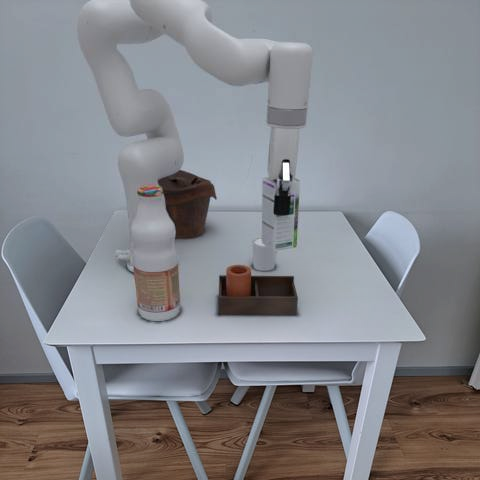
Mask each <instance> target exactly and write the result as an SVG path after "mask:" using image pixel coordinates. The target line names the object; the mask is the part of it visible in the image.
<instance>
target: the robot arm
mask: <svg viewBox="0 0 480 480" xmlns="http://www.w3.org/2000/svg"><path fill="white" fill-rule="evenodd" d="M212 22H213V15H212V11H211V8H210V6H209V4H208V3H206V2H205V1H204V0H89V1H87V2H86V3H85V4H83V6H82V7H81V9H80V10H79V14H78V16H77V23H76V33H77V34H76V35H77V39H78V44H79V46H80V50H81V52H82V55H83V57H84V58H85V61H86V63H87V65H88V67H89V68H90V71H91V74H92V75H93V78H94V80H95V84H96V86H97V90H98V93H99V95H100V98H101V102H102V104H103V107H104V110H105V113H106V115H107V119H108V121H109V124H110V126H111V128H112V130H113V131H114V132H115V134H117V136H120V137H123V138H124V137H125V138H129V137H135V136H141V135H143V134H145V136H146V138H145V139H141V140H138V141H134V142H131V143H129V144H126V145H125V146H124V147H123V148H122V149H121V151H120V152H119V154H118V156H117V166H118V171H119V175H120V178H121V181H122V186H123V190H124V195H125V203H126V210H127V211H126V212H127V220H128V229H129V240H130V248H127V249H115V251H114V252H115V254H114V256H115V258H118V260H119V261H126V267H127V269H128V271H130V272H131V273H133V274H134V267H133V249H134V242H133V240H132V237H131V225H132V223H133V221H134V219H135V217H136V213H137V209H138V205H139V201H140V198H139V197H138V194H137V189H138V187H140V186H143V185H158V186H159V184H158V180H159V179H161V178H164V177H166V176H169V175H172V174H174V173H176V172H178V171H179V170H182V167H183V165H184V161H185V155H184V153H185V152H184V148H183V145H182V141H181V137H180V135H179V131H178V127H177V124H176V121H175V118H174V115H173V111H172V108H171V106H170V104H169V101H167V99H166V97H165V96H164V95H163V94H162V93H161V92H159V91H158V90H155V89H153V88H142V89H139V87H138V84H137V81H136V79H135V76H134V75H135V74H134V72H133V70H132V68H131V65H130V64H129V61H127V59H126V57H125V56H124V55H123V54H122V53H121V52H120V51H119V50H118V48H117V46H118V45H140V44H141V45H142V44H147V43H150V42H152V41H155V40H157V39H159V38H160V37H162V36H164V35H165V36H167V37H168V38H170V39H172V40H173V41H175V42H176V43H178V44H180V45H181V46H183V47H184V48H185V50H186V52H187V54H188V56H189V57H190V59H191V60H192V62H193V63H194V64H195V65H196V66H197V67H198V68H200V69H201V70H203V71H204V72H205V73H208V74H209V75H210V76H212V77H214V78H215V79H217V80H218V81H220V82H222V83H224V84H226V85H229V86H233V87H243V86H244V87H245V86H250V85H259V84H264V83H268V87H267V88H268V89H267V108H266V123H265V124H266V126H268V127H270V133H269V142H268V143H269V144H268V157H267V167H266V170H267V175H268V176H267V177H269V179H270V180H271V181H273V180H276V194H275V196H274V210H273V213H274V215H289V213H290V201H291V195H290V194H291V182H292V181H293V180H294V179H295V178H296V173H297V172H296V171H297V163H298V153H299V143H300V142H299V141H300V129H304V128H306V127H307V119H308V108H309V98H310V97H309V96H310V88H311V87H310V86H311V77H312V76H311V75H312V65H313V55H314V53H313V48H312V46H311V45H310V44H308V43H306V42H296V41H277V40H272V39H268V38H259V37H258V38H251V37H250V38H249V37H248V38H236V37H235V36H232V35H231V34H229V33H227V32H225V31H224V30H222V29H220V28H219V27H217V26H216V25H214V24H213V23H212ZM279 177H282V179H279ZM280 183H282V184H281V185H280ZM279 185H280V186H279ZM162 201H163V203H164V206H165V208H166V204H165V197H164V194H163V196H162Z"/></svg>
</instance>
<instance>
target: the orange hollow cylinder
mask: <svg viewBox="0 0 480 480" xmlns="http://www.w3.org/2000/svg"><path fill="white" fill-rule="evenodd" d="M225 275H226V296H250V292H251V276H252V269H251V268H250V267H249V266H247V265H244V264H232V265H230V266H227V268H226V270H225Z"/></svg>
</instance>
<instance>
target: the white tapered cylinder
mask: <svg viewBox="0 0 480 480" xmlns="http://www.w3.org/2000/svg"><path fill="white" fill-rule="evenodd" d="M251 246H252V247H251V249H252V262H253V263H252V265H253V269H255V270H257V271H261V272H269V271H273V270H274V269H275V267H276V260H277V254H278V251H275V252H273V251H272V250H271V249H269V248H268V247H266V246H265V245H264V244H263V243H262V237H257V238H254V239H253V240H252V242H251Z"/></svg>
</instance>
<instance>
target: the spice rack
mask: <svg viewBox="0 0 480 480" xmlns="http://www.w3.org/2000/svg"><path fill="white" fill-rule="evenodd" d="M298 301H299V297H298V292H297V288H296V285H295V276H294V275H251V292H250V296H226V274H224V275H223V274H222V275H221V274H220V275H218V315H219V316H297V313H298Z"/></svg>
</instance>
